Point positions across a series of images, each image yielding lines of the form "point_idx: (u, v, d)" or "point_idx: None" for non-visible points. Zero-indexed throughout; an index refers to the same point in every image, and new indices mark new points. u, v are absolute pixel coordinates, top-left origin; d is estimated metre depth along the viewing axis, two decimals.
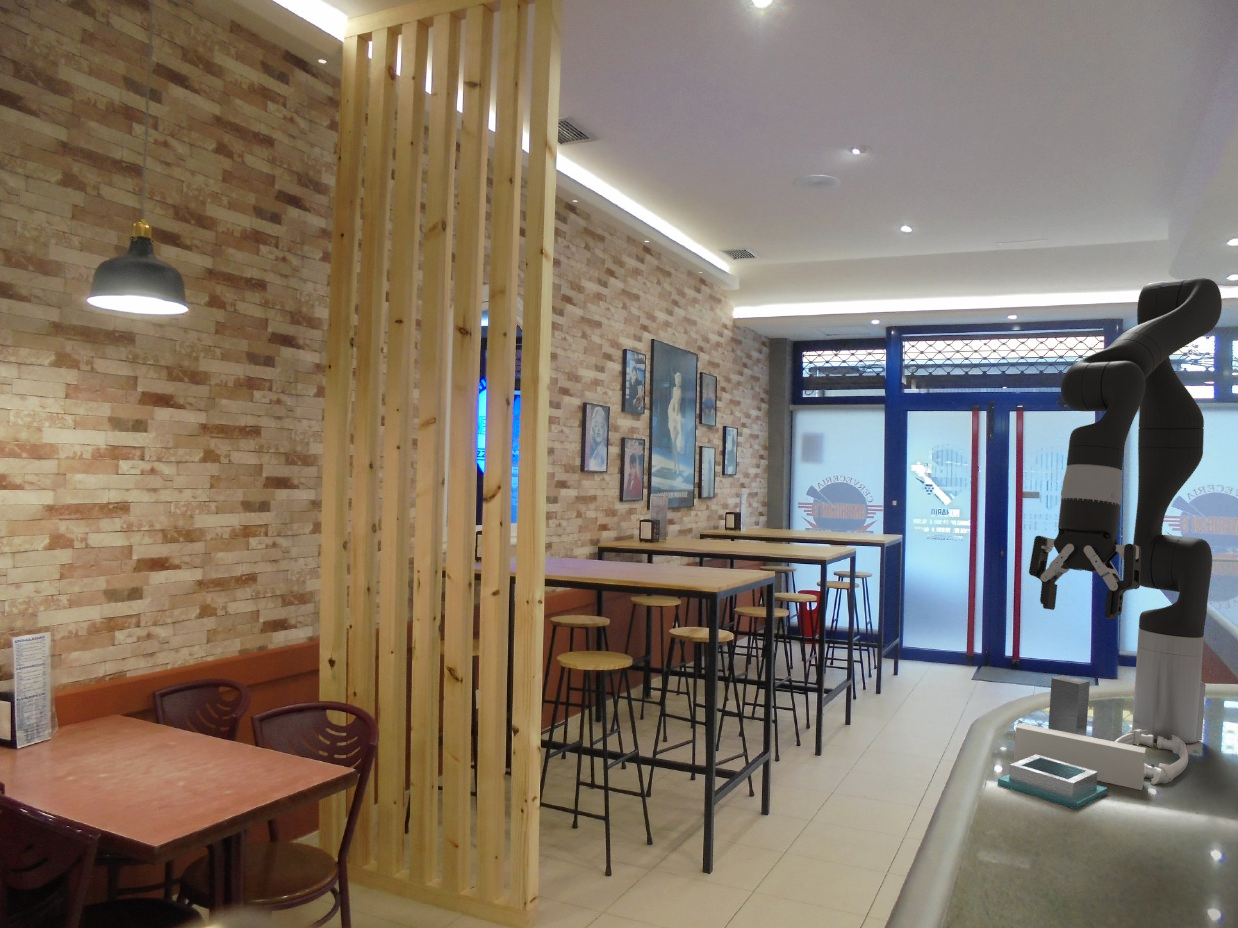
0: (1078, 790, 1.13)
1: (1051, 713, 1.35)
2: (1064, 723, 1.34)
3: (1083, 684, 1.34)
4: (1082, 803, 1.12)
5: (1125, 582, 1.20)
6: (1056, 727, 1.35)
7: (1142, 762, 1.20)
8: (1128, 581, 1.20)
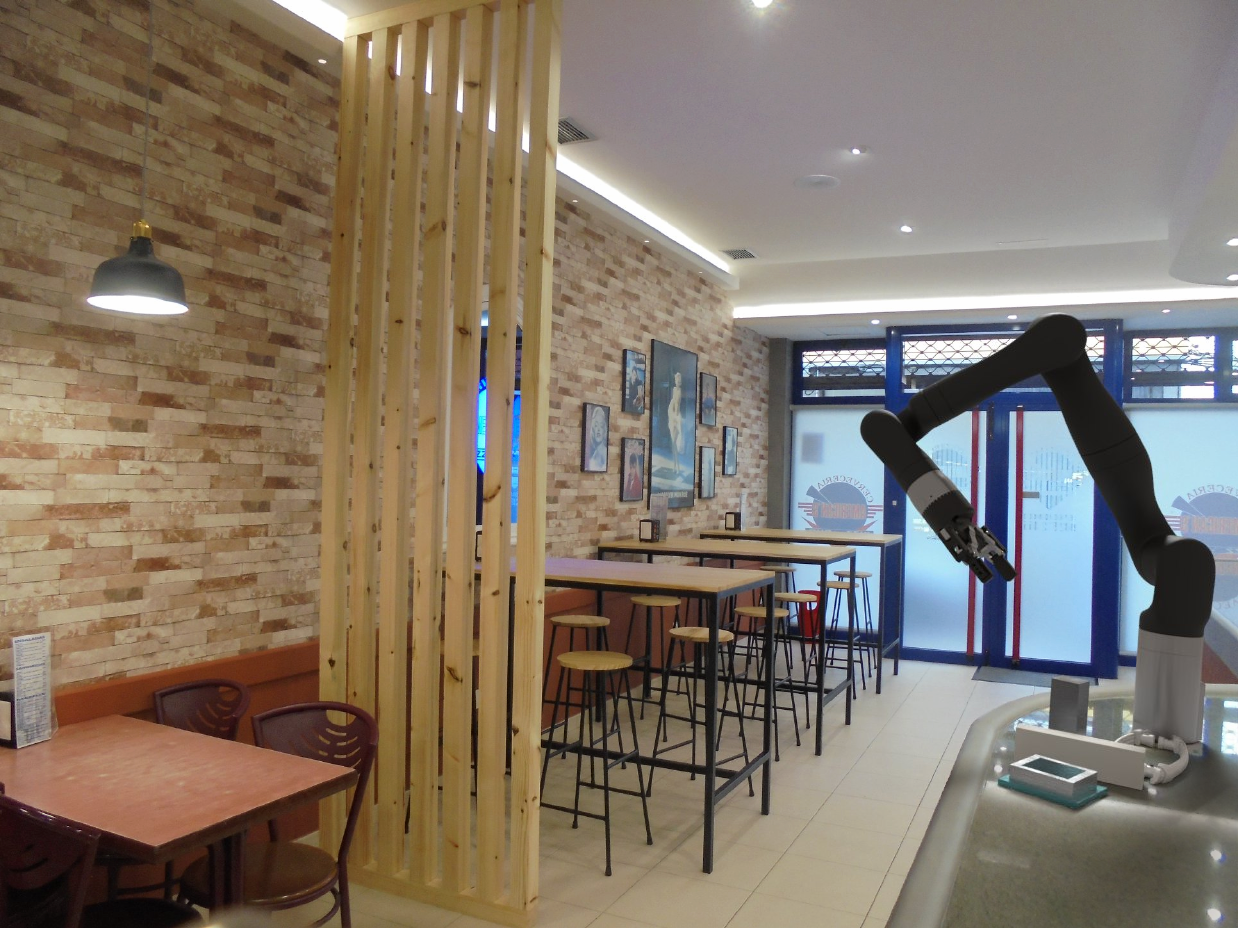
0: (1078, 790, 1.13)
1: (1051, 713, 1.35)
2: (1064, 723, 1.34)
3: (1083, 684, 1.34)
4: (1082, 803, 1.12)
5: None
6: (1056, 727, 1.35)
7: (1142, 762, 1.20)
8: None
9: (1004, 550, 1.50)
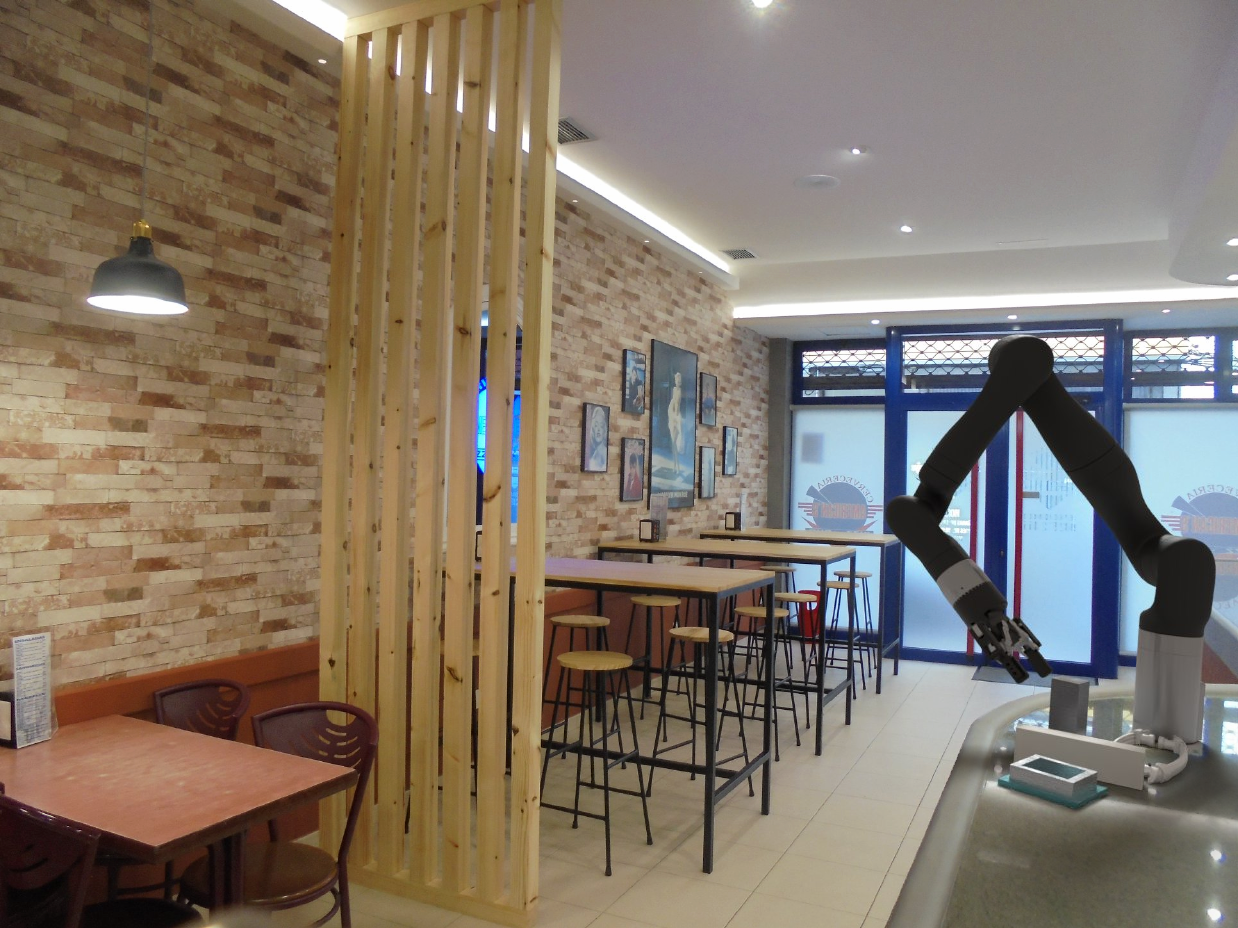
0: (1078, 790, 1.13)
1: (1051, 713, 1.35)
2: (1064, 723, 1.34)
3: (1083, 684, 1.34)
4: (1082, 803, 1.12)
5: None
6: (1056, 727, 1.35)
7: (1142, 762, 1.20)
8: None
9: (1038, 644, 1.45)
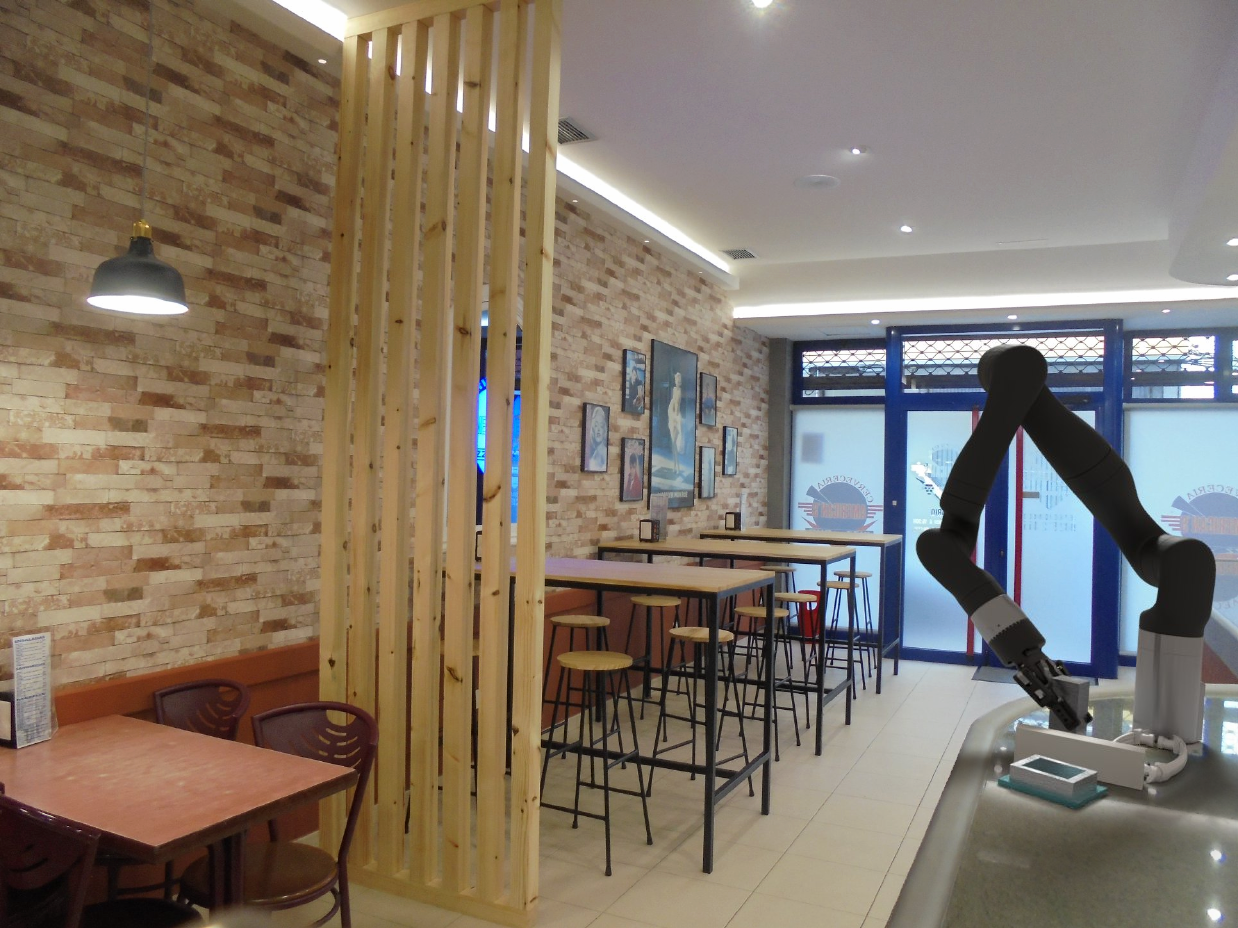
0: (1078, 790, 1.13)
1: (1051, 713, 1.35)
2: None
3: (1083, 684, 1.34)
4: (1082, 803, 1.12)
5: None
6: (1056, 726, 1.35)
7: (1142, 762, 1.20)
8: None
9: None
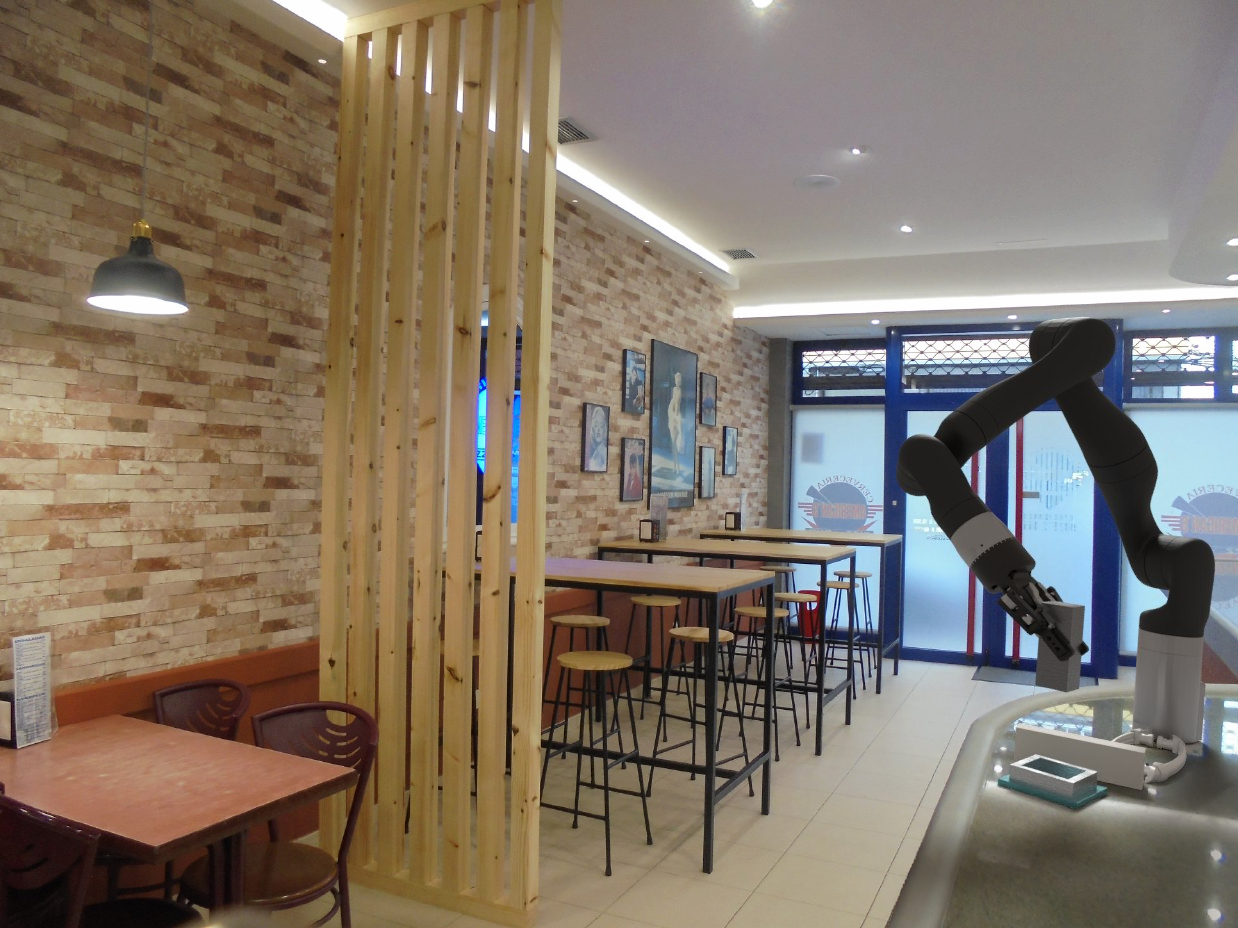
0: (1078, 790, 1.13)
1: (1040, 642, 1.18)
2: None
3: (1077, 609, 1.16)
4: (1082, 803, 1.12)
5: None
6: (1046, 658, 1.17)
7: (1142, 762, 1.20)
8: None
9: None
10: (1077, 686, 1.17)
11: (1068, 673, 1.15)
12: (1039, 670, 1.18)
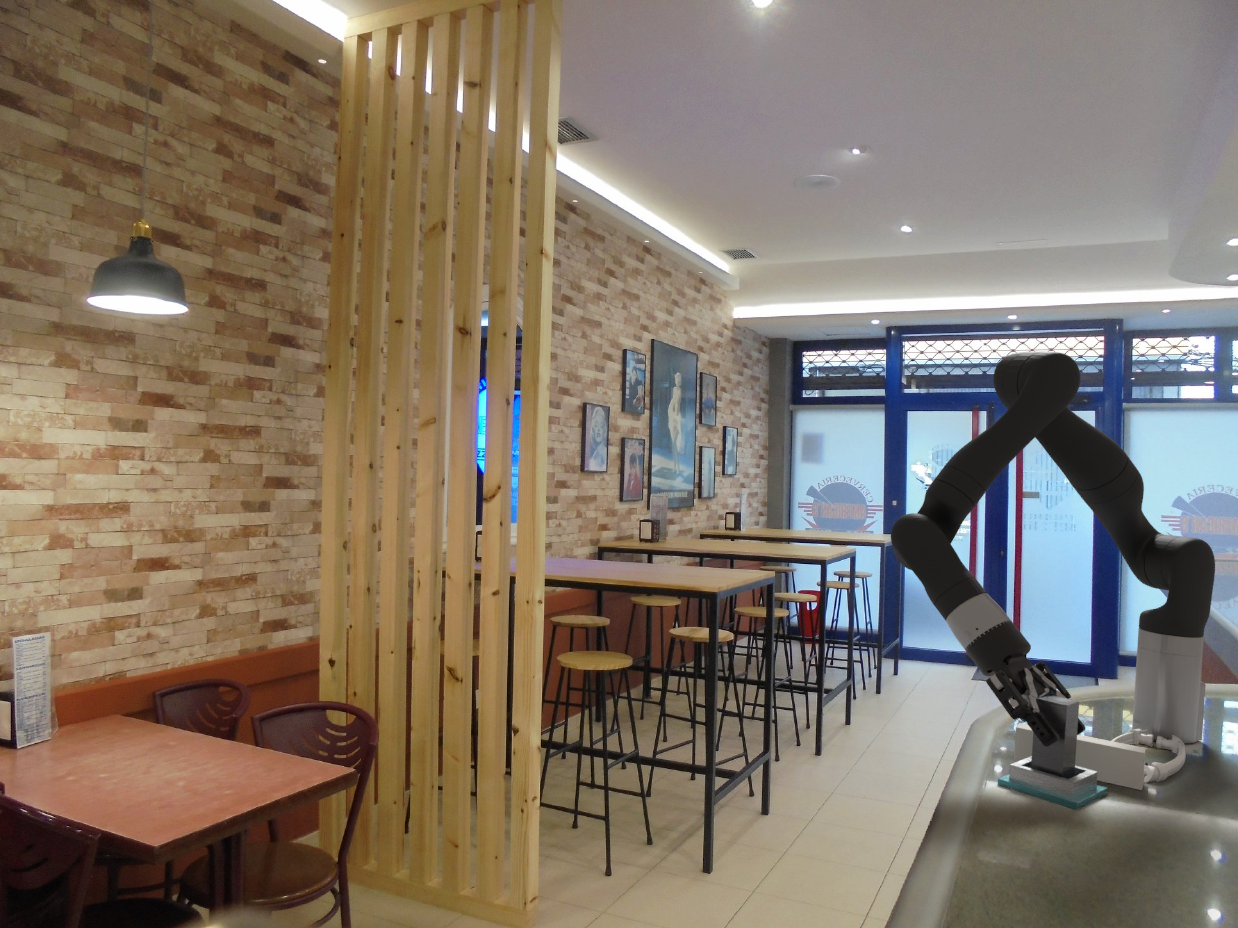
0: (1078, 790, 1.13)
1: (1035, 738, 1.18)
2: (1050, 750, 1.16)
3: (1071, 706, 1.16)
4: (1082, 803, 1.12)
5: None
6: (1040, 754, 1.17)
7: (1142, 762, 1.20)
8: None
9: (1066, 695, 1.23)
10: None
11: (1063, 771, 1.15)
12: (1034, 766, 1.18)
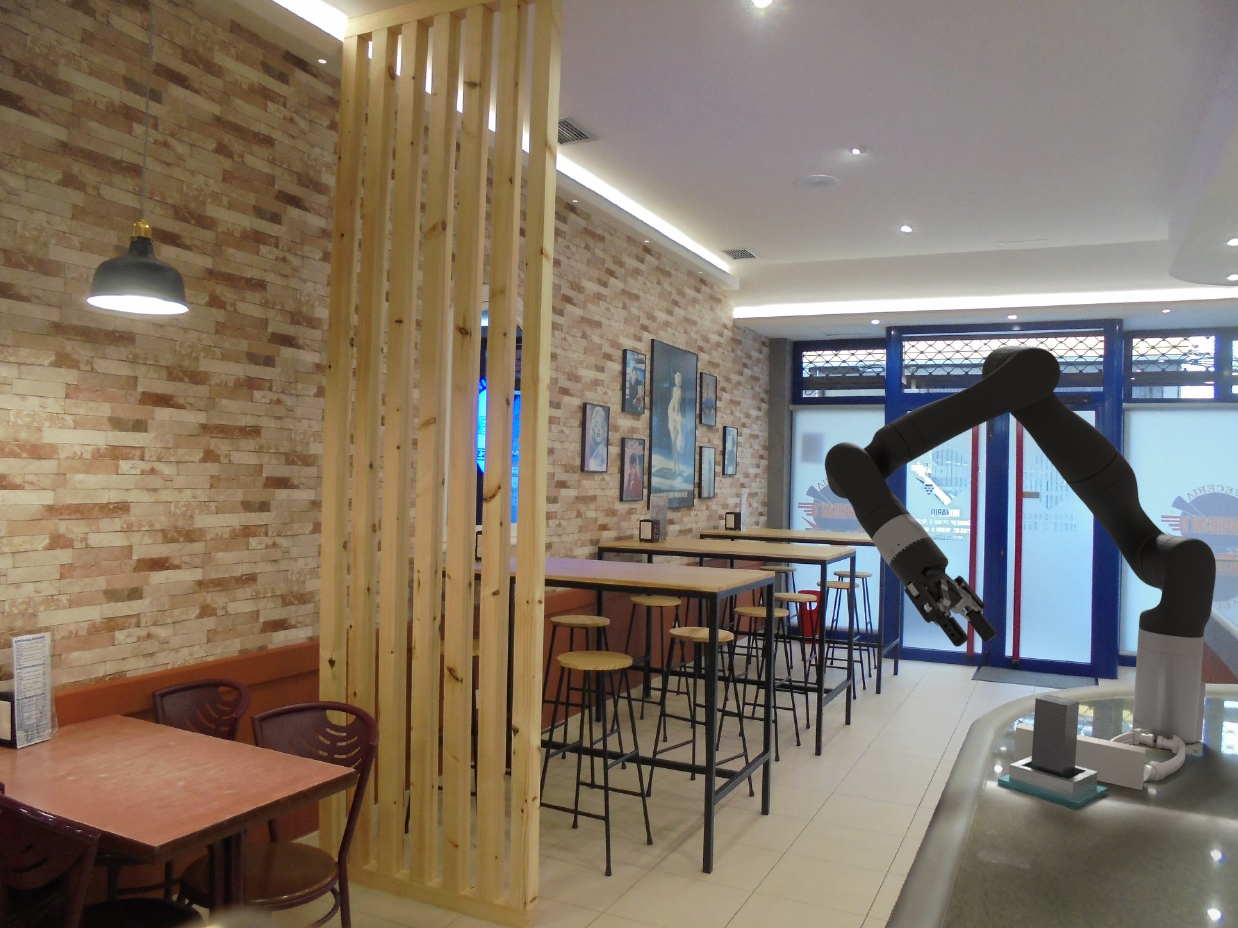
0: (1078, 790, 1.13)
1: (1035, 738, 1.18)
2: (1050, 750, 1.16)
3: (1071, 706, 1.16)
4: (1082, 803, 1.12)
5: None
6: (1040, 754, 1.17)
7: (1142, 762, 1.20)
8: None
9: (981, 605, 1.33)
10: None
11: (1063, 771, 1.15)
12: (1034, 766, 1.18)
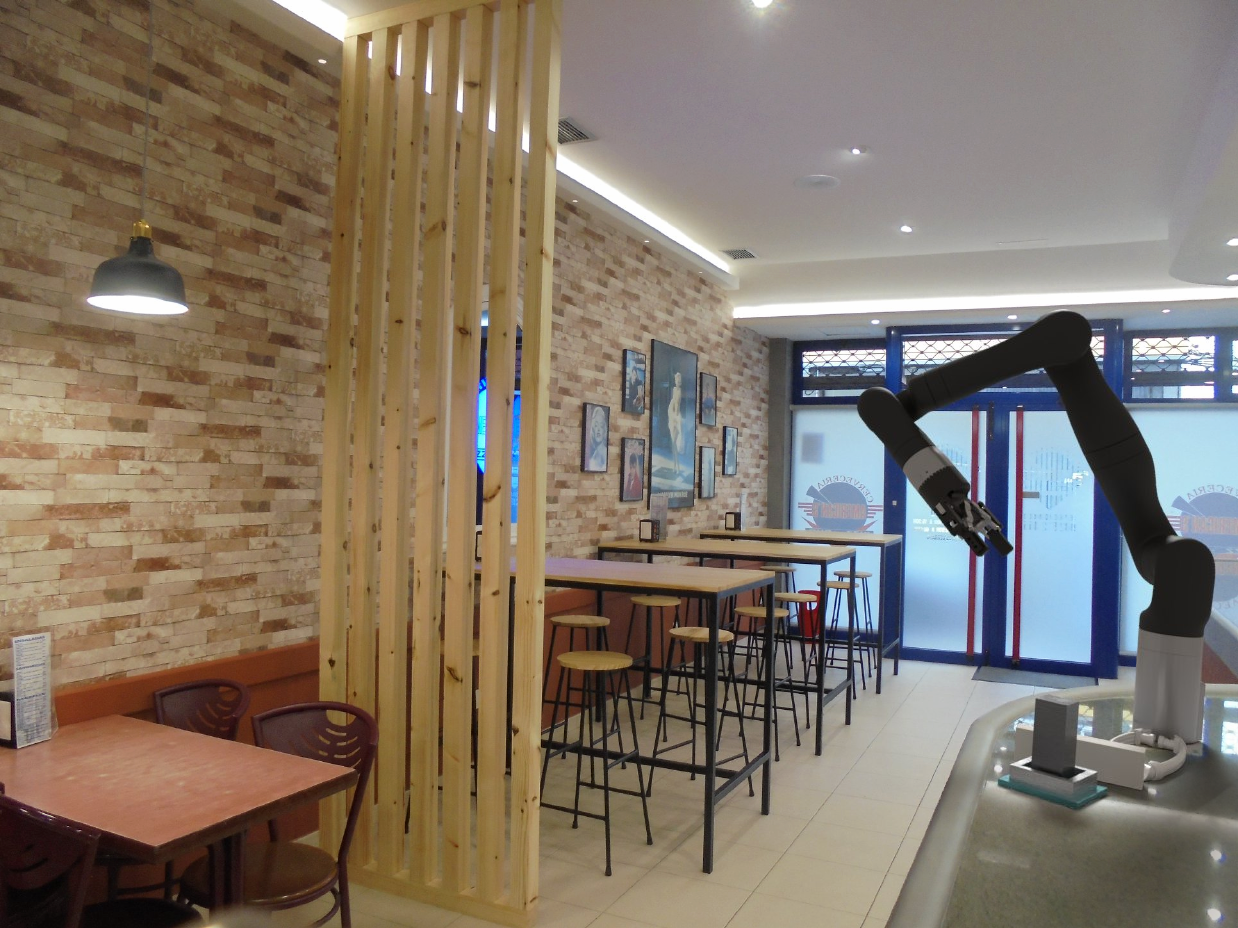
0: (1078, 790, 1.13)
1: (1035, 738, 1.18)
2: (1050, 750, 1.16)
3: (1071, 706, 1.16)
4: (1082, 803, 1.12)
5: None
6: (1040, 754, 1.17)
7: (1142, 762, 1.20)
8: None
9: (999, 525, 1.50)
10: None
11: (1063, 771, 1.15)
12: (1034, 766, 1.18)
